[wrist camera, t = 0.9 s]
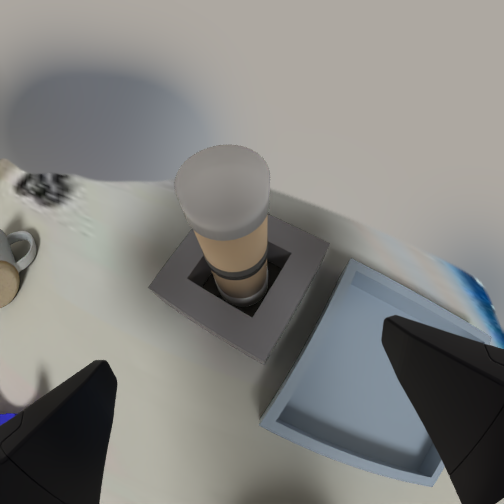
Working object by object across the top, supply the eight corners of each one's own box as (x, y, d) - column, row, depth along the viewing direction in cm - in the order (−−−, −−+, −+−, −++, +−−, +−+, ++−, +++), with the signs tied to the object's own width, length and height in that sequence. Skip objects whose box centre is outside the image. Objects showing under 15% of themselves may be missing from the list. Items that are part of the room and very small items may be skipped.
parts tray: (472, 343, 19) (491, 336, 16) (416, 479, 14) (432, 487, 11) (341, 272, 23) (351, 257, 20) (259, 419, 18) (258, 425, 15)
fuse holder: (321, 262, 24) (329, 243, 21) (264, 364, 20) (264, 361, 17) (226, 215, 26) (221, 192, 23) (163, 301, 23) (148, 287, 20)
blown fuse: (276, 274, 23) (286, 162, 12) (251, 316, 22) (235, 232, 10) (235, 252, 25) (211, 136, 13) (208, 291, 23) (155, 192, 11)
